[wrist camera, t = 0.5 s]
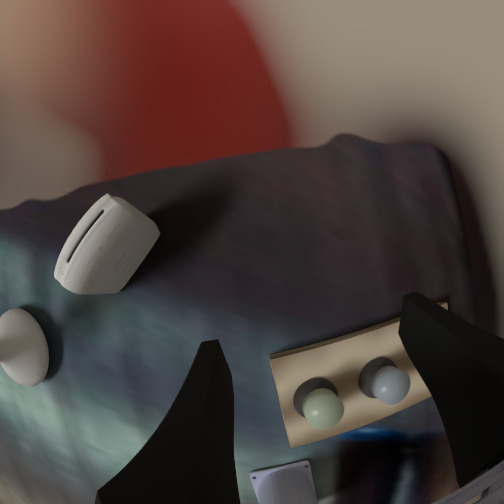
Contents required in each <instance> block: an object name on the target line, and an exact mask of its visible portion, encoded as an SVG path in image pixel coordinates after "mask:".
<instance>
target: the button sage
mask: <svg viewBox="0 0 504 504" xmlns="http://www.w3.org/2000/svg"><path fill="white" fill-rule="evenodd" d="M302 411H303V414H304V416H305V418H306V420H307V421H308V423H309V425H310V426H312V427H313V428H315V429H319V430H325V429H329V428H332V427H333V426H335V425H336V424H338V423H339V421H340V420H341V419H342V417H343V415H344V405H343V402H342V401H341V400H340V399H339V398H338V397H337V395H336V394H335V393H334V392H333V391H331V390H329V389H325V388H320V389H316V390H313V391H312V392H310V393H309V394H308V395H307V396H306V397H305V398H304V400H303V403H302Z"/></svg>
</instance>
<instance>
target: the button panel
mask: <svg viewBox="0 0 504 504" xmlns="http://www.w3.org/2000/svg"><path fill="white" fill-rule="evenodd" d="M437 304H439V305H440V306H442V307H444V308H445V309H447V310H448V306H447V303H441V302H437ZM400 318H401V316H400V317H397V318H395V319H392V320H389V321H386V322H383V323H380V324H377V325H374V326H371V327H368V328H365V329H362V330H359V331H356V332H352V333H349V334H346V335H343V336H339V337H336V338H332V339H329V340H326V341H322V342H318V343H315V344H311V345H307V346H304V347H300V348H296V349H292V350H288V351H284V352H280V353H276V354H272V355H269V358H270V363H271V367H272V371H273V376H274V380H275V384H276V389H277V393H278V398H279V402H280V406H281V411H282V415H283V419H284V423H285V428H286V432H287V436H288V440H289V443H290V447H291V448H293V447H297V446H300V445H304V444H308V443H312V442H315V441H319V440H322V439H325V438H329V437H332V436H335V435H338V434H341V433H344V432H347V431H350V430H353V429H356V428H359V427H361V426H364V425H367V424H369V423H372V422H374V421H377V420H379V419H382V418H384V417H387V416H389V415H392V414H394V413H396V412H399V411H401V410H403V409H405V408H407V407H410V406H412V405H414V404H416V403H418V402H420V401H422V400H424V399H426V398H428V397H430V396H432V395H431V393H430V392H429V390H428V388H427V387H426V385H425V383H424V381H423V380H422V378H421V376H420V375H419V373H418V371H417V370H416V368H415V366H414V365H413V363H412V361H411V360H410V358H409V356H408V355H407V353H406V350H405V348H404V346H403V344H402V341H401V339H400V337H399V334H398V330H399V324H400ZM385 366H393V367H396V368H398V369H400V370H402V371H404V372H406V373H407V374H408V375H409V377H410V381H411V385H410V389H409V392H408V394H407V395H406V397H405V398H404V399H403V400H402V401H400V402H399V403H397V404H394V405H387V404H385V403H383V402H382V401H380V400H379V399H378V398H377V397H375V396H374V395H373V394H372V392H371V388H370V384H371V380H372V378H373V376H374V374H375V373H376V372H377V371H378V370H379V369H381V368H382V367H385ZM320 388H325V389H329V390H331V391H333V392H334V393H335V394H336V395H337V397H338V398H339V399H340V400H341V401H342V402H343V405H344V415H343V417H342V419H341V420H340V421H339V423H338V424H336V425H335V426H333V427H332V428H329V429H325V430H319V429H315V428H313V427H312V426H310V425H309V423H308V421H307V420H306V418H305V416H304V414H303V411H302V403H303V400H304V398H305V397H306V396H307V395H308V394H309V393H310V392H312V391H313V390H316V389H320Z"/></svg>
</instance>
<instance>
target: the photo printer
mask: <svg viewBox="0 0 504 504" xmlns="http://www.w3.org/2000/svg"><path fill="white" fill-rule="evenodd" d="M159 235H160V232H159V230H158V227H157V225H156V224H155V222H154V221H152V220H151V219H150V218H148V217H147V216H146V215H144V214H143V213H141V212H140V211H139V210H137V209H136V208H135V207H133V206H132V205H131V204H129V203H128V202H126V201H125V200H123V199H122V198H118V197H112V196H111V195H109V194H106V195H104V196H103V197H102V198H100V199H99V200H98V201H97V202H96V203H95V204H94V205H93V206H92V207H91V208H90V209H89V210H88V211H87V212H86V214H85V215H84V216H83V217H82V219H81V220H80V221H79V222H78V224H77V226H76V227H75V228H74V229H73V232H72V233H71V234H70V236H69V238H68V239H67V241H66V243H65V245H64V247H63V249H62V251H61V253H60V255H59V258H58V260H57V264H56V267H55V272H54V276H55V278H56V279H57V280H58V281H59V282H60V283H61V284H62V286H63V287H65V288H66V289H68V290H69V291H71V292H74V293H76V294H80V295H84V294H115V293H118V292H119V291H120V290H121V289H122V288H123V287H124V286H125V285H126V283H127V282H128V281H129V279H130V278H131V277H132V275H133V274H134V273H135V271H136V270H137V268H138V267H139V266H140V264H141V263H142V261H143V260H144V259H145V257H146V256H147V254H148V253H149V251H150V250H151V248H152V247H153V245H154V244H155V242H156V241H157V239H158V237H159Z"/></svg>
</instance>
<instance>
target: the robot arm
mask: <svg viewBox="0 0 504 504" xmlns="http://www.w3.org/2000/svg"><path fill="white" fill-rule="evenodd" d="M398 334H399V337H400V339H401V341H402V344H403V346H404V348H405V350H406V353H407V355H408V356H409V358H410V360H411V361H412V363H413V365H414V366H415V368H416V370H417V371H418V373H419V375H420V376H421V378H422V380H423V381H424V383H425V385H426V387H427V388H428V390H429V392H430V393H431V395H432V397H433V399H434V401H435V404H436V406H437V409H438V411H439V414H440V416H441V419H442V422H443V424H444V427H445V430H446V433H447V436H448V440H449V444H450V447H451V451H452V455H453V460H454V465H455V470H456V477H457V482H458V484H459V486H460V489H459V490H457V491H455V492H453V493H452V494H450V495H448V496H446V497H444V498H442V499H440V500H438V501H436V502H434V503H432V504H463V503H465V502H466V501H468V500H470V499H472V498H473V497H475V496H476V495H478V494H479V493H481V492H482V494H481V498H480V499H479V500H478V501H476V502H475V503H473V504H504V339H503V338H500V337H498V336H496V335H493V334H491V333H489V332H487V331H485V330H483V329H481V328H479V327H477V326H475V325H473V324H471V323H469V322H467V321H466V320H464V319H462V318H460V317H459V316H457V315H455V314H454V313H452V312H450V311H448V310H447V309H445V308H444V307H442V306H440V305H439V304H437V303H435V302H434V301H432V300H430V299H429V298H427V297H425V296H424V295H422V294H420V293H418V292H413V293H410V294H407V295H404V296H403V304H402V311H401V318H400V324H399V330H398ZM306 465H308V466H306ZM305 466H306V467H305ZM487 471H488V472H487ZM484 473H485V474H484ZM481 475H482V476H481ZM479 476H480V477H479ZM253 477H255V478H253ZM250 478H251V481H252V484H253V487H254V490H255V493H256V496H257V499H258V502H259V504H319V503H318V500H317V497H316V492H315V487H314V482H313V477H312V472H311V467H310V463H309V461H308V460H303V461H299V462H295V463H291V464H287V465H282V466H278V467H273V468H268V469H263V470H258V471H252V472H250ZM476 478H477V479H476ZM473 480H474V481H473ZM468 483H469V484H468ZM465 485H466V486H465ZM463 486H464V487H463ZM461 487H462V488H461ZM95 504H240V498H239V492H238V485H237V477H236V469H235V460H234V393H233V383H232V375H231V372H230V369H229V366H228V364H227V361H226V359H225V356H224V354H223V351H222V348H221V346H220V343H219V340H218V339H217V340H211V341H205V342H202V343H201V344H200V346H199V349H198V351H197V354H196V356H195V359H194V361H193V363H192V366H191V368H190V370H189V373H188V375H187V377H186V379H185V381H184V383H183V385H182V387H181V389H180V391H179V393H178V395H177V397H176V398H175V400H174V402H173V404H172V406H171V408H170V409H169V411H168V413H167V414H166V416H165V417H164V419H163V421H162V422H161V423H160V425H159V426H158V428H157V429H156V431H155V432H154V433H153V435H152V436H151V437H150V439H149V440H148V441H147V443H146V444H145V445H144V446H143V448H142V449H141V450H140V451H139V452H138V453H137V454H136V455H135V457H134V458H133V459H132V460H131V461H130V462H129V463H128V464H127V465H126V466H125V467H124V468H123V469H122V470H121V471H120V472H119V473H118V474H117V475H116V476H114V477H113V478H112V479H111V480H110V481H109V482H107V483H106V484H105V485H104V486H103V487H101V488H100V489H99V490H98V491H97V495H96V499H95Z"/></svg>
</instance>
